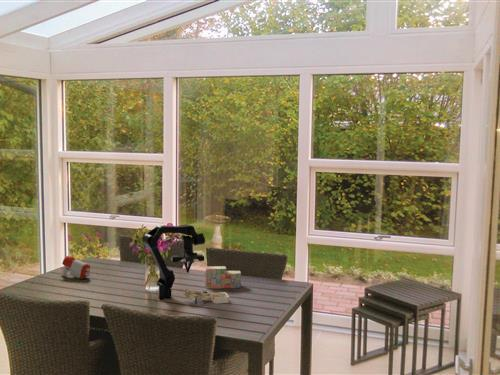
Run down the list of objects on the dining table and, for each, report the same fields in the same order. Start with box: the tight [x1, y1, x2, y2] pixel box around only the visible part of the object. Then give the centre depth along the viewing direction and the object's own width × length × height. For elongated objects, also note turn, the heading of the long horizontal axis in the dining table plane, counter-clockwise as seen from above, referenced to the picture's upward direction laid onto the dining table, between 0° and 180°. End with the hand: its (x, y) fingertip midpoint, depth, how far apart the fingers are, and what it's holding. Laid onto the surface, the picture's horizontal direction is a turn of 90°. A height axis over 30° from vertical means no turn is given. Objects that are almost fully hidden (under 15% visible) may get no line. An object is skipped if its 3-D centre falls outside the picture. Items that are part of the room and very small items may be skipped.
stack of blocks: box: [204, 265, 242, 290], centre depth 316 cm, size 21×6×12 cm, turn 97°
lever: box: [184, 288, 212, 302], centre depth 290 cm, size 14×14×3 cm
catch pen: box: [210, 291, 230, 305], centre depth 290 cm, size 9×9×3 cm
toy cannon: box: [61, 255, 91, 280], centre depth 328 cm, size 6×20×14 cm, turn 69°
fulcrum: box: [191, 296, 205, 306], centre depth 287 cm, size 5×9×4 cm, turn 16°
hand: (187, 272), depth 302 cm, fingers closed
